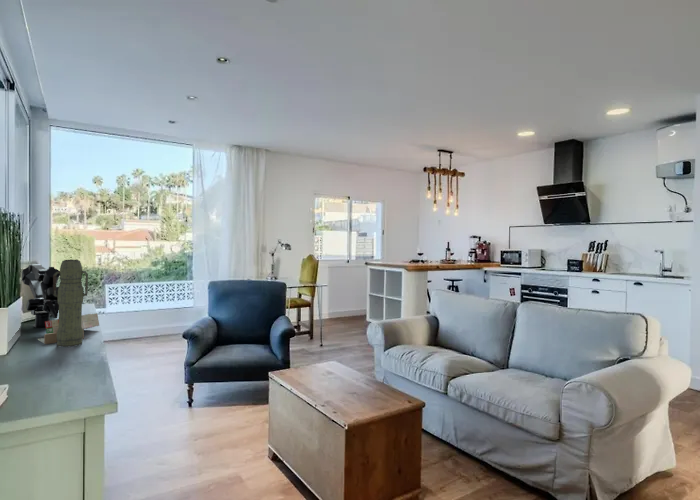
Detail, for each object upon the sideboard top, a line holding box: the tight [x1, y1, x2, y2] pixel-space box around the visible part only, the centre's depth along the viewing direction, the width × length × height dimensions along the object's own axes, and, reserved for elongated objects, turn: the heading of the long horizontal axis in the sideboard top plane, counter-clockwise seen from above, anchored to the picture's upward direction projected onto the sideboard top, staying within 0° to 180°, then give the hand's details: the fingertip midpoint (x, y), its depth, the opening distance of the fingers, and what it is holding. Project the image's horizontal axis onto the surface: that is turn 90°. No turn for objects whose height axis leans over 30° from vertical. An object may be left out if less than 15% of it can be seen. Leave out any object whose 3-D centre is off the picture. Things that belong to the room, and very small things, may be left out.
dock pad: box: [37, 329, 85, 345], centre depth 178 cm, size 11×14×4 cm
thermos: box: [53, 259, 89, 348], centre depth 169 cm, size 9×12×35 cm
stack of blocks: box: [45, 312, 100, 334], centre depth 187 cm, size 21×6×12 cm
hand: (56, 317), depth 189 cm, fingers closed
